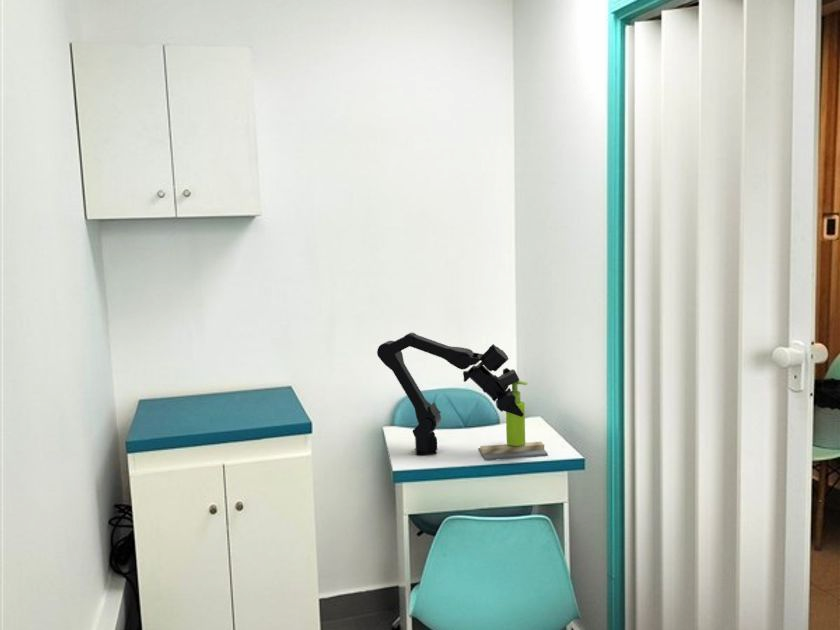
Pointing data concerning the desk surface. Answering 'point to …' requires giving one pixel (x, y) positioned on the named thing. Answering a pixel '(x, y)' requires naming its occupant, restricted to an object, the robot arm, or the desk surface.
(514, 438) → the soap dispenser
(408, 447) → the desk surface
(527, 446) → the ridge
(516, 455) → the base board
